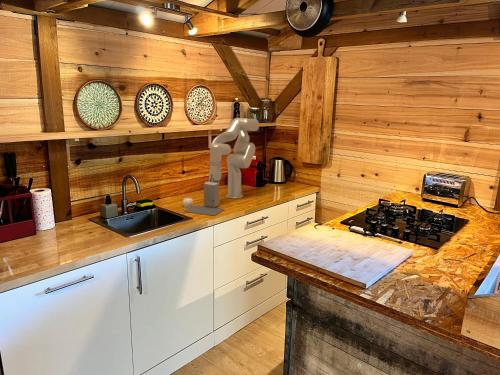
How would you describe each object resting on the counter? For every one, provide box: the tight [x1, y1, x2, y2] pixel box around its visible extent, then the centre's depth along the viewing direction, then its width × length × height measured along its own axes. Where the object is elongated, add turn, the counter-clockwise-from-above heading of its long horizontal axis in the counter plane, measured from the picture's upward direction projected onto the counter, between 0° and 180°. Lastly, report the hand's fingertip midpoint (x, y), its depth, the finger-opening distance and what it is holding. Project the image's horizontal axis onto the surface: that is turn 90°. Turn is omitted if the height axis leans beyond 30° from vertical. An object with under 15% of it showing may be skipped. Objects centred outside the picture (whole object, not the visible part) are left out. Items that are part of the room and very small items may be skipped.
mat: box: [183, 205, 226, 217], centre depth 245 cm, size 15×22×1 cm
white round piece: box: [182, 197, 194, 208], centre depth 255 cm, size 6×6×5 cm
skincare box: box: [203, 180, 220, 208], centre depth 253 cm, size 8×7×16 cm
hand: (215, 190), depth 258 cm, fingers closed
